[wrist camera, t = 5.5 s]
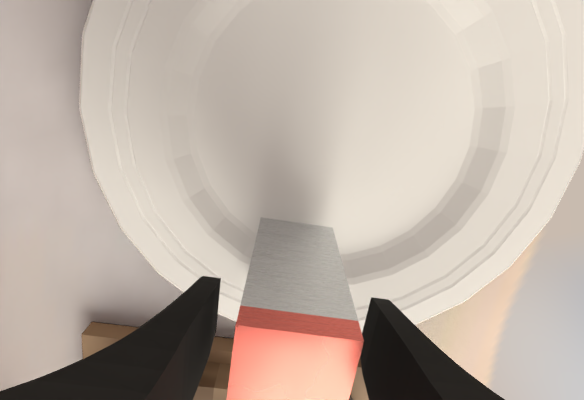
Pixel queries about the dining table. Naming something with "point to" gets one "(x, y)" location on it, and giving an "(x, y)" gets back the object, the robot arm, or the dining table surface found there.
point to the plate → (336, 134)
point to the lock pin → (295, 319)
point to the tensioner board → (216, 371)
